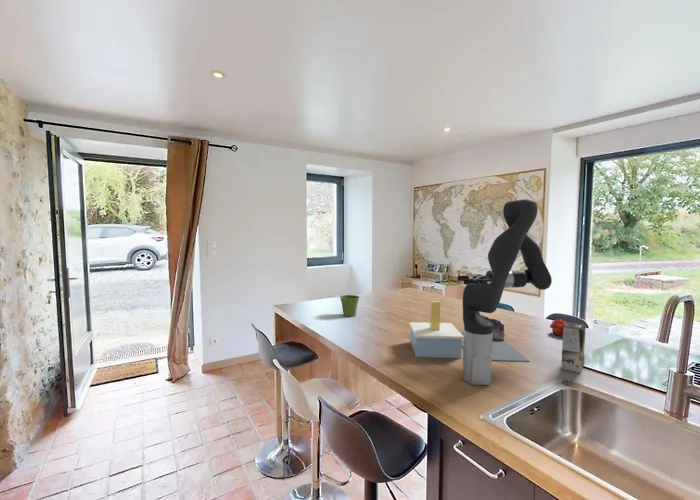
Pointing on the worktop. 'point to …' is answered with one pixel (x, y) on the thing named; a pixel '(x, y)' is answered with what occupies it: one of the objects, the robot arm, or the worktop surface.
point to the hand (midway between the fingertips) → (460, 279)
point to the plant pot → (349, 304)
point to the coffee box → (573, 347)
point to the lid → (435, 326)
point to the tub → (436, 347)
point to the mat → (505, 352)
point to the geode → (496, 329)
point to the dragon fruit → (558, 326)
